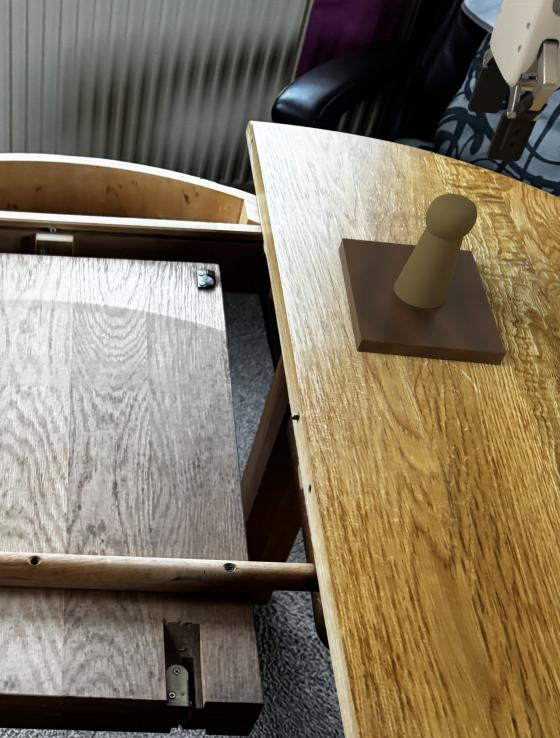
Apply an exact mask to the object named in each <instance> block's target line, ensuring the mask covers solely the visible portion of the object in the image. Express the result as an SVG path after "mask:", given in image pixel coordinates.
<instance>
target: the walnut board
mask: <svg viewBox="0 0 560 738" xmlns="http://www.w3.org/2000/svg"><path fill="white" fill-rule="evenodd" d="M416 245H417V244H406V243H398V242H397V243H396V242H387V241H375V240H367V239H356V238H347V237H346V238H345V237H342V238H341V241H340V243H339V248H338V252H339V258H340V263H341V269H342V275H343V279H344V284H345V285H344V286H345V290H346V295H347V300H348V301H347V302H348V307H349V313H350V317H351V324H352V329H353V335H354V340H355V345H356V351H358V352H367V353H376V354H388V355H396V356H397V354H398V356H407V357H416V358H417V357H418V358H429V359H438V360H439V359H440V360H450V361H458V362H459V361H460V362H469V363H471V362H472V363H481V364H489V365H490V364H491V365H501V364H502V362H503V360H504V358H505V356H506V354H507V353H506V350H505V347H504V344H503V340H502V338H501V334H500V331H499V329H498V326H497V323H496V320H495V316H494V313H493V311H492V307H491V304H490V302H489V299H488V295H487V292H486V290H485V286H484V284H483V281H482V280H483V279H482V277H481V274H480V271H479V268H478V265H477V261H476V259H475V256H474V253H473V250H468V249H460V251H459V255H458V258H457V262H456V265H455V269H454V272H453V276H452V279H451V283H450V286H449V290H448V293H447V297H446V300H445V302H444V303H443V304H442V305H440V306H439V307H435V308H420V307H415V306H412V305H410V304H407V303H406V302H404V301H402V300H401V299H400V298H399V297H398V296H397V295H396V293H395V291H394V285H395V283H396V281H397V279H398V277H399V275H400V274H401V272H402V270H403V268H404V266H405V265H406V263H407V261H408V259H409V257H410V255H411V254H412V252H413V250H414V248H415V246H416Z"/></svg>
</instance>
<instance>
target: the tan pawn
mask: <svg viewBox="0 0 560 738" xmlns="http://www.w3.org/2000/svg"><path fill="white" fill-rule="evenodd" d="M477 219H478V208H477V205H476V204H475V202H473V201H472V200H471V199H470V198H469V197H466V196H464V195H462V194H458V193H445V194H444V193H443V194H440V195H438V196H437V197H435V198H434V199H433V200H432V201H431V203H430V204H429V206H428V207H427V210H426V213H425V225H426V226H425V228H424V230H423V232H422V234H421V235H420V237H419V239H418V241H417V242H416V244H415V245H416V246H415V248H414V250H413V252H412V254H411V255H410V257H409V259H408V261H407V263H406V265H405V266H404V268H403V270H402V272H401V274H400V275H399V277H398V279H397V281H396V283H395V285H394V291H395V293H396V295H397V296H398V297H399V298H400V299H401V300H402V301H404V302H406V303H407V304H410V305H412V306H415V307H420V308H435V307H439V306H440V305H442V304H443V303H444V302H445V300H446V297H447V293H448V290H449V286H450V283H451V279H452V276H453V272H454V269H455V265H456V262H457V258H458V255H459V251H460V250H461V248H462V244H463V240H464V238H465V237H466V236H467V235H469V234H470V232H471V231H472V230H473V228H474V226H475V225H476V222H477Z"/></svg>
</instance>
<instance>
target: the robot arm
mask: <svg viewBox="0 0 560 738" xmlns="http://www.w3.org/2000/svg"><path fill="white" fill-rule="evenodd" d="M492 29H493V30H492V32H491V35H490V39H489V40H490V41H489V44H490V48H489V49H488V50H487V51H486V53H485V54H484V57H483V61H482V65H483V66H482V67H481V68H480V70H479V72H478V73H479V74H478V75H477V79H476V82H475V85H474V87H473V90H472V93H471V96H470V99H469V101H468V104H467V110H468V112H471V113H480V114H481V113H482V114H493V115H496V114H498V113H499V112H500V111H501V108H502V106H503V103H504V101H505V98H506V95H507V93H508V91H509V88H510V92H509V98H508V103H507V104H508V105H507V111H506V113H502V114H501V115H500V119H499V121H498V122H497V125H496V128H495V131H494V134H493V136H492V138H491V141H490V143H489V146H488V148H487V151H486V157H487V159H488V160H491V161H503V162H518V161H520V160H521V159H522V156H523V154H524V152H525V150H526V148H527V145H528V144H529V143H528V142H529V141H530V138H531V136H532V133H533V130H534V128H535V126H536V124H537V122H539V120H540V118H542V117H541V116H542V113H543V112H544V110H545V109H546V108H547V107H548V104H549V103H548V102H549V101H550V99H551V98H552V96H553V94H554V93H555V92H556V91H557V89H559V88H560V0H503V1H502V3H501V6H500V8H499V11H498V14H497V17H496V20H495V23H494V26H493V28H492ZM524 76H525V77H536V79H535V78H533V79H532V78H522V77H524ZM522 91H527V92H532V93H531V94H527V95H525V97H523V99H521V95H522Z"/></svg>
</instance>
